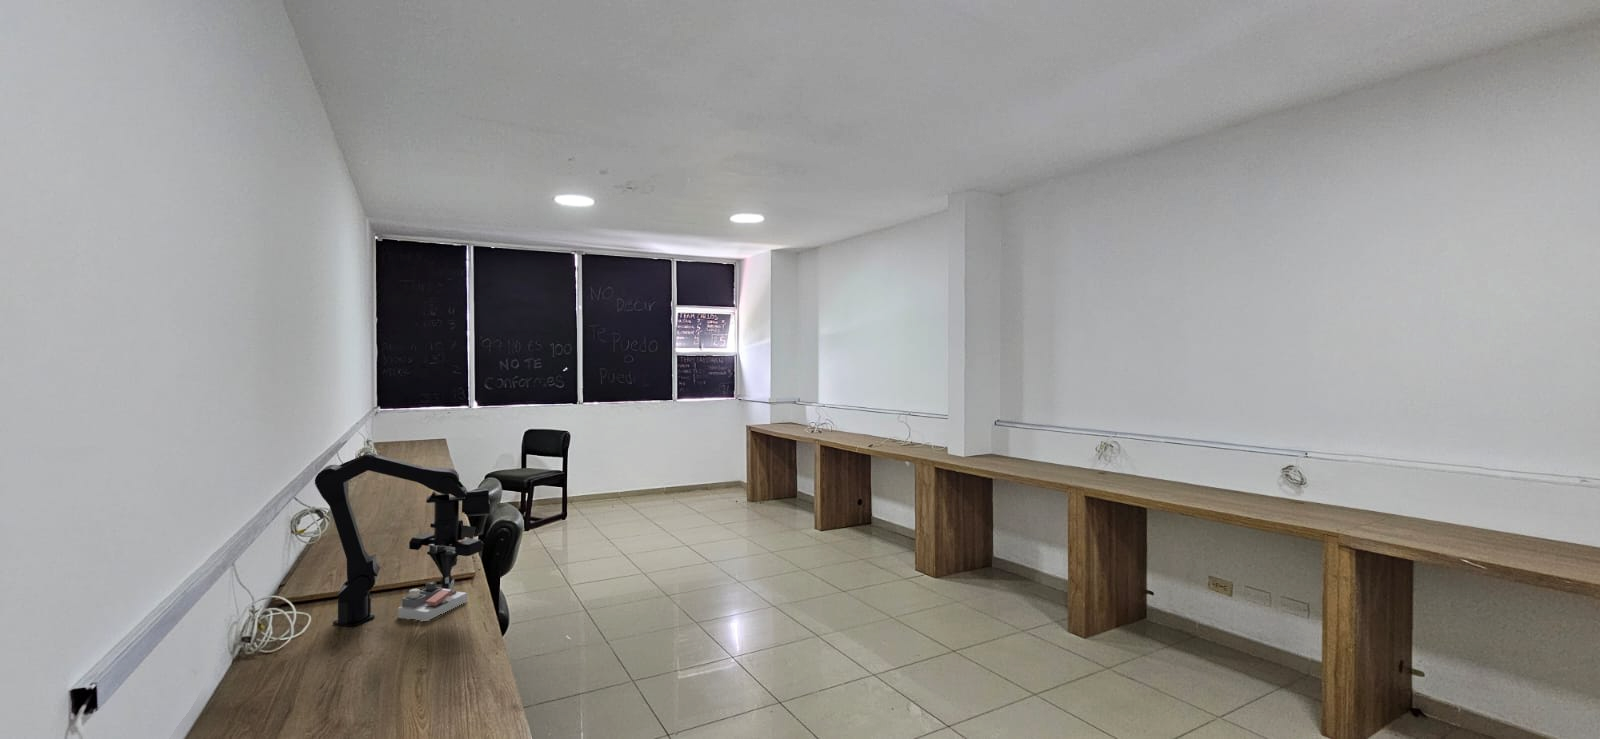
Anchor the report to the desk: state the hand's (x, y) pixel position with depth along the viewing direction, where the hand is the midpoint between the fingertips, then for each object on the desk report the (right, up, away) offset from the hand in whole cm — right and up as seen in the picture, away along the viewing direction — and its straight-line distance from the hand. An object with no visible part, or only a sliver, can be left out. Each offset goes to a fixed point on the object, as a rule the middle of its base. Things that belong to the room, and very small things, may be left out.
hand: (446, 577), depth 180 cm
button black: (-5, -4, +2) cm, 7 cm away
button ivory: (-6, -4, -4) cm, 8 cm away
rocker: (-1, -5, -2) cm, 5 cm away
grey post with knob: (-7, -8, +13) cm, 17 cm away
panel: (-3, -8, 0) cm, 9 cm away
